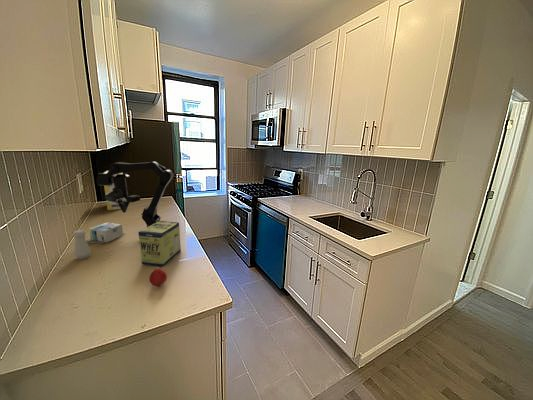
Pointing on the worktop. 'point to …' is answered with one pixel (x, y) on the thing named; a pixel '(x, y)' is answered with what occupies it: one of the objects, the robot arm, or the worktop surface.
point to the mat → (96, 241)
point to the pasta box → (108, 189)
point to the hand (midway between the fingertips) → (124, 212)
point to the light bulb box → (106, 232)
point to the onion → (158, 277)
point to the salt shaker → (81, 245)
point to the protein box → (159, 243)
